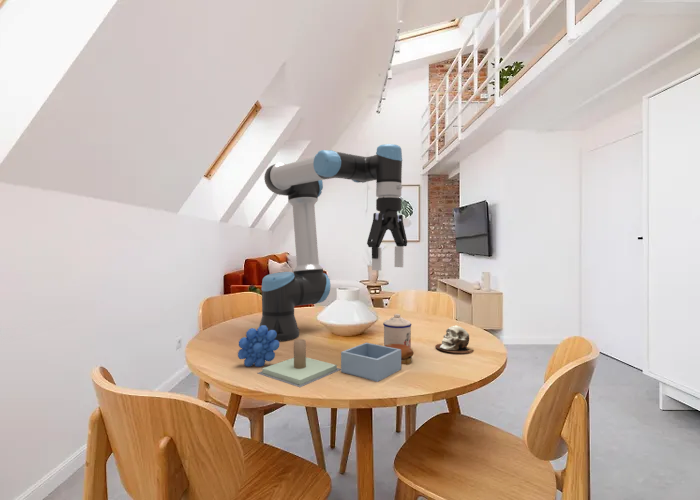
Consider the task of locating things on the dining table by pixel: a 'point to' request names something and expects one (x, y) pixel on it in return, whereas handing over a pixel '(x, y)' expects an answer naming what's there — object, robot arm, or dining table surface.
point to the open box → (371, 361)
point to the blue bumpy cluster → (258, 346)
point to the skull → (455, 340)
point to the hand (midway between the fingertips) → (388, 268)
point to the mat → (297, 384)
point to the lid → (299, 366)
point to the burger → (403, 352)
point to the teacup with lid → (397, 331)
